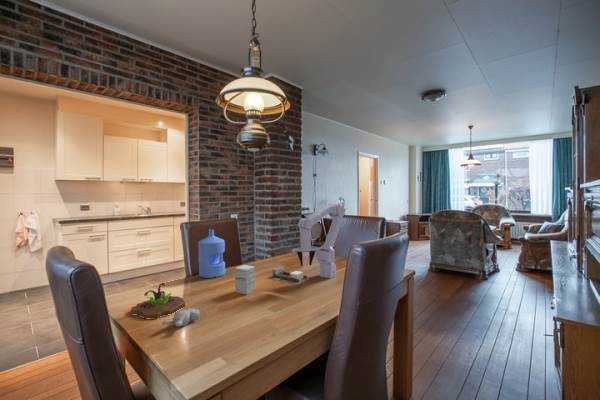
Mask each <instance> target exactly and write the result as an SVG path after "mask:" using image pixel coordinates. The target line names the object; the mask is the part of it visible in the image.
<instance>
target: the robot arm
mask: <svg viewBox="0 0 600 400" xmlns="http://www.w3.org/2000/svg"><path fill="white" fill-rule="evenodd" d="M345 213H346V209H345V206H344V205H343V204H342V203H328V204H325V207H323V208H322V209H321V210H319V211H318V212H316V211H313V212H311V214H309V215H307V216H305V217H304V218H303V217H302V218H300V219H299V220H298V223H297V226H298V228H299V232H300V233H299V234H300V236H299V237H300V247H297V248H292V250H291V251H292V253H293V254H296V255H297V257H298V259H299V263H300V266H301V267H303V262H304V261H303V253H308V254H309V255H308V256H309V259H308V260H309V266H312V264H313V261H314V257H315V258H316V259H317V261H318V276H319V277H320V278H326V279H327V278H328V279H333V278H335V277H337V265H336V263H333V262H334V260H335V254H336V251H335V249H334V245H335V242H336V240H337V237H338V234H339V231H340V228H341V226H342V223H343V218H344V215H345ZM327 215H329V217H330V219H331V220H332V222H331V225H330V227H329V230H328V232H327V235H326V238H325V241H324V244H322V245H321V246H320V247H312V231H311V230H312V228H313V226H314V225H316V224H317V223H319V222H320V221H321V220H322V218H323V217H325V216H327Z"/></svg>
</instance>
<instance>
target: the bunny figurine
mask: <svg viewBox="0 0 600 400" xmlns="http://www.w3.org/2000/svg"><path fill="white" fill-rule="evenodd" d="M200 312H201V311H200V310H199V309H197V308H192V307H191V308H189V307H188V308H186V309H181V310H179V311H177V312H175V313H173V318H170V319H165V320H163V321H162V323H161V325H162V326H163V325H164V326H165V325H168V324H170V323H173V324H174V326H175V327H183V326H184V327H186V326H188V325H189V324H190V323H191V322H193V321H197V320H199V319H200V314H201V313H200ZM190 321H191V322H190ZM189 322H190V323H189ZM188 323H189V324H188ZM187 324H188V325H187Z"/></svg>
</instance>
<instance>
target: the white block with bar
mask: <svg viewBox="0 0 600 400" xmlns="http://www.w3.org/2000/svg"><path fill="white" fill-rule="evenodd" d="M303 275H304V271H300V270H299V271H298V270H295V271H293V272H290V275H288V276H286V277H289V276H290V277H291V278H295V279H299V280H301V279H303V278H304V276H303ZM286 277H285V278H286Z"/></svg>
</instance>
